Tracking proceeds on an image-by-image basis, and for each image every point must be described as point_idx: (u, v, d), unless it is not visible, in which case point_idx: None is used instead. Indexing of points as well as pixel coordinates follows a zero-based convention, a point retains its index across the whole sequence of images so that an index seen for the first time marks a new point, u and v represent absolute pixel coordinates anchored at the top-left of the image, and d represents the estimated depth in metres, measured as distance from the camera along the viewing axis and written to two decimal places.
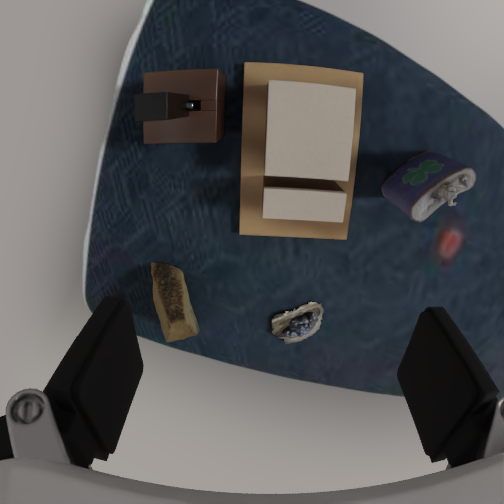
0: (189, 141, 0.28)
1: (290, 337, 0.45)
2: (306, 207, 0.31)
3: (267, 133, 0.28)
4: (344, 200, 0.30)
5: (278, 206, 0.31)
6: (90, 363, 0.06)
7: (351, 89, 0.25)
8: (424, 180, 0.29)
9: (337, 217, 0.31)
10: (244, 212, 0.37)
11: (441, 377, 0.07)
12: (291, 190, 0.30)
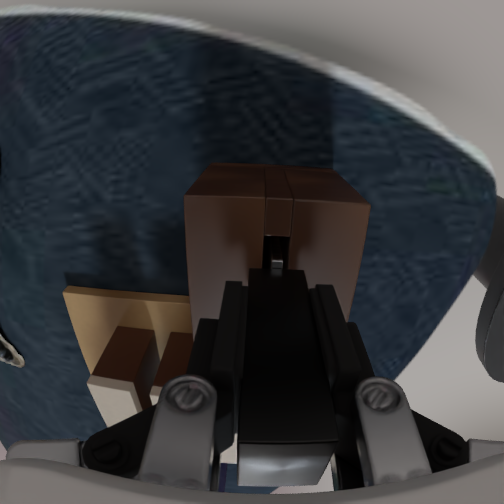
0: (191, 299, 0.13)
1: None
2: None
3: None
4: None
5: (110, 401, 0.17)
6: (244, 341, 0.08)
7: None
8: None
9: None
10: (94, 301, 0.21)
11: None
12: None
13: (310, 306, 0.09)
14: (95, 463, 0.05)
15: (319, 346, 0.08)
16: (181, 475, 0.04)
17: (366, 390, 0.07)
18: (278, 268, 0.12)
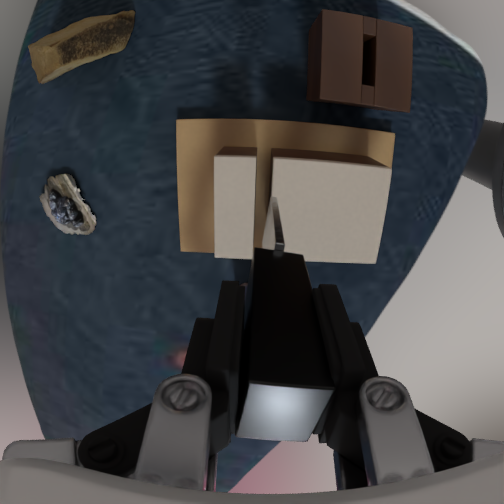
0: (322, 65, 0.19)
1: (48, 200, 0.30)
2: (231, 212, 0.24)
3: (328, 163, 0.22)
4: (243, 257, 0.25)
5: (231, 176, 0.23)
6: (239, 341, 0.08)
7: (375, 259, 0.25)
8: None
9: (221, 250, 0.25)
10: (207, 124, 0.27)
11: None
12: (253, 192, 0.23)
13: (308, 283, 0.11)
14: (90, 462, 0.05)
15: None
16: (177, 474, 0.04)
17: (370, 390, 0.07)
18: (280, 250, 0.13)
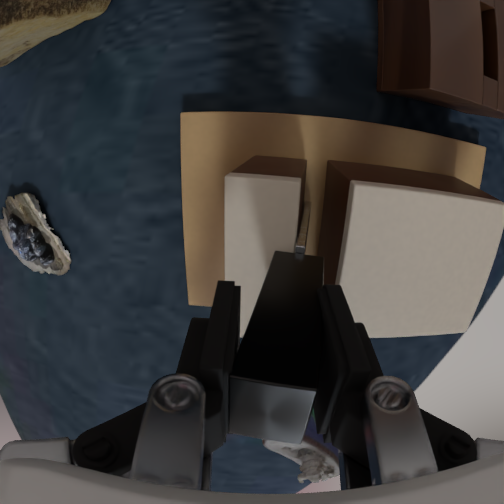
0: (432, 36, 0.09)
1: (8, 228, 0.21)
2: (253, 272, 0.14)
3: (436, 195, 0.12)
4: None
5: (254, 213, 0.13)
6: (233, 341, 0.08)
7: (467, 326, 0.15)
8: None
9: None
10: (229, 120, 0.17)
11: (324, 352, 0.08)
12: (293, 243, 0.13)
13: (321, 284, 0.11)
14: (85, 460, 0.05)
15: (320, 315, 0.09)
16: (172, 474, 0.04)
17: (376, 390, 0.07)
18: (301, 253, 0.13)
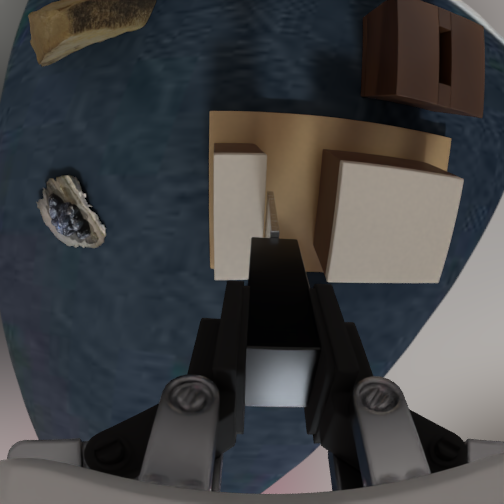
0: (399, 56, 0.15)
1: (47, 207, 0.25)
2: (235, 224, 0.19)
3: (403, 170, 0.18)
4: None
5: (236, 179, 0.18)
6: (245, 341, 0.08)
7: (438, 278, 0.21)
8: None
9: (223, 271, 0.20)
10: (247, 118, 0.22)
11: None
12: (263, 198, 0.19)
13: (301, 263, 0.12)
14: (97, 464, 0.05)
15: None
16: (183, 475, 0.04)
17: (363, 391, 0.07)
18: (275, 237, 0.14)
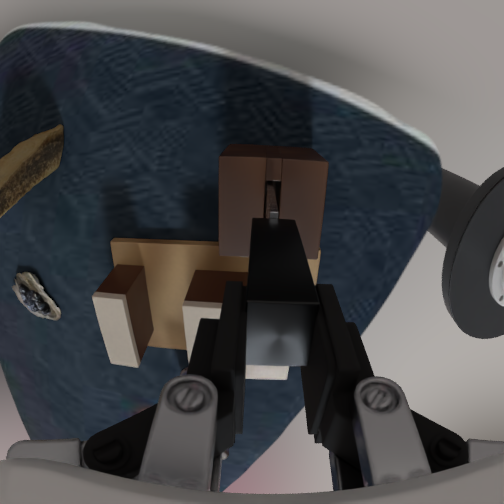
0: (220, 222, 0.22)
1: (19, 291, 0.33)
2: (114, 336, 0.27)
3: None
4: (131, 365, 0.28)
5: (107, 311, 0.25)
6: (244, 341, 0.08)
7: (285, 376, 0.28)
8: None
9: (114, 359, 0.28)
10: (136, 247, 0.29)
11: (314, 352, 0.08)
12: (126, 324, 0.26)
13: (299, 237, 0.13)
14: (96, 463, 0.05)
15: (305, 257, 0.11)
16: (182, 475, 0.04)
17: (365, 390, 0.07)
18: (275, 218, 0.15)
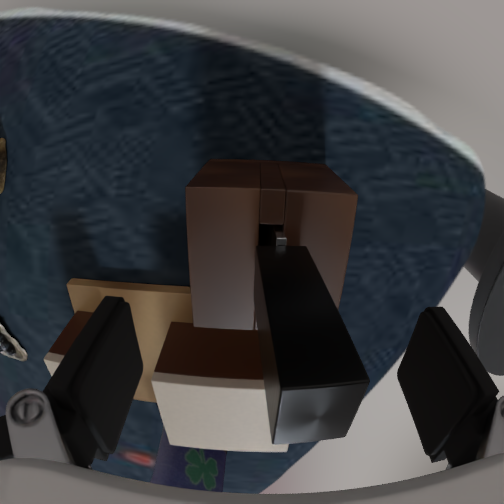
0: (192, 284, 0.14)
1: None
2: None
3: (216, 387, 0.18)
4: None
5: None
6: (90, 363, 0.06)
7: (285, 449, 0.21)
8: (193, 483, 0.25)
9: None
10: (97, 293, 0.22)
11: (441, 377, 0.07)
12: None
13: (319, 275, 0.10)
14: None
15: (334, 306, 0.09)
16: None
17: None
18: (282, 245, 0.12)
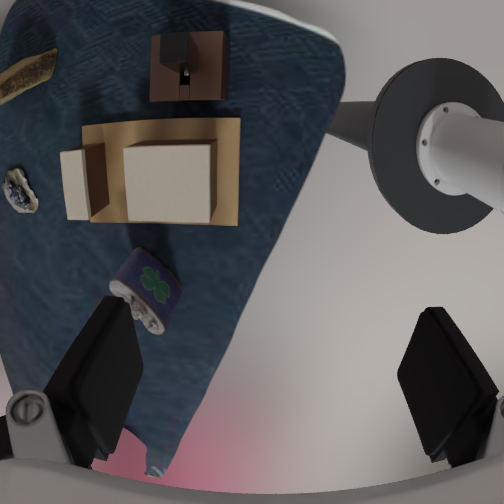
0: (150, 77, 0.26)
1: (7, 188, 0.37)
2: (72, 187, 0.31)
3: (159, 146, 0.30)
4: (83, 218, 0.33)
5: (69, 164, 0.30)
6: (90, 363, 0.06)
7: (208, 218, 0.33)
8: (145, 287, 0.37)
9: (70, 214, 0.33)
10: (100, 128, 0.34)
11: (441, 377, 0.07)
12: (82, 173, 0.31)
13: (194, 43, 0.22)
14: None
15: (191, 39, 0.21)
16: None
17: None
18: None
